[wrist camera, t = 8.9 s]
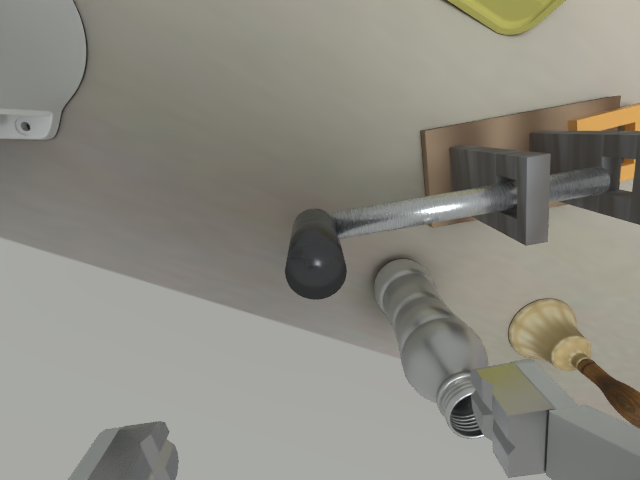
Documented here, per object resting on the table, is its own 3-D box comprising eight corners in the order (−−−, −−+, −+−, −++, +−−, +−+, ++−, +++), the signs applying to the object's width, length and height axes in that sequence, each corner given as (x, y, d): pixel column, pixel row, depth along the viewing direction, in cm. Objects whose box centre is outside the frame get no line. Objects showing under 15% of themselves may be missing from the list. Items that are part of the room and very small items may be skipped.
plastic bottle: (427, 252, 39) (537, 367, 20) (423, 305, 41) (519, 455, 22) (371, 253, 39) (428, 371, 20) (370, 307, 41) (420, 459, 22)
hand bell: (577, 293, 41) (731, 388, 26) (572, 351, 44) (709, 468, 29) (508, 303, 42) (621, 403, 26) (507, 360, 44) (610, 482, 29)
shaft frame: (427, 223, 38) (493, 277, 24) (420, 130, 35) (491, 131, 21) (600, 194, 38) (767, 231, 24) (608, 97, 35) (804, 75, 21)
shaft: (297, 248, 27) (291, 303, 19) (289, 209, 26) (279, 248, 18) (586, 199, 26) (718, 232, 18) (589, 157, 25) (730, 170, 17)
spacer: (578, 191, 35) (648, 174, 34) (577, 120, 33) (652, 101, 32) (569, 189, 36) (637, 173, 36) (568, 120, 34) (640, 102, 33)
